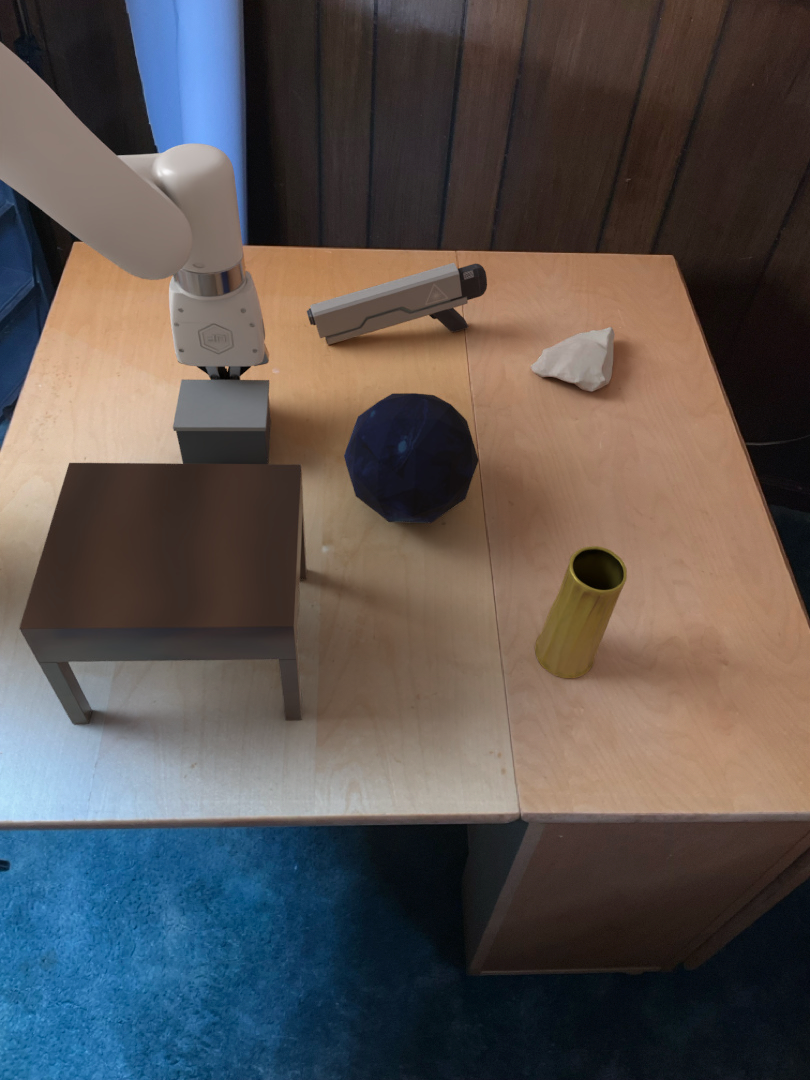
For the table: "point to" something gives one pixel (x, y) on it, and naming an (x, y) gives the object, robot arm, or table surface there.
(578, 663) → the vase
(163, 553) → the miniature coffee table
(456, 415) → the decorative orb
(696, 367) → the table surface
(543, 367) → the stone
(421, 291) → the gun
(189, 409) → the storage box
